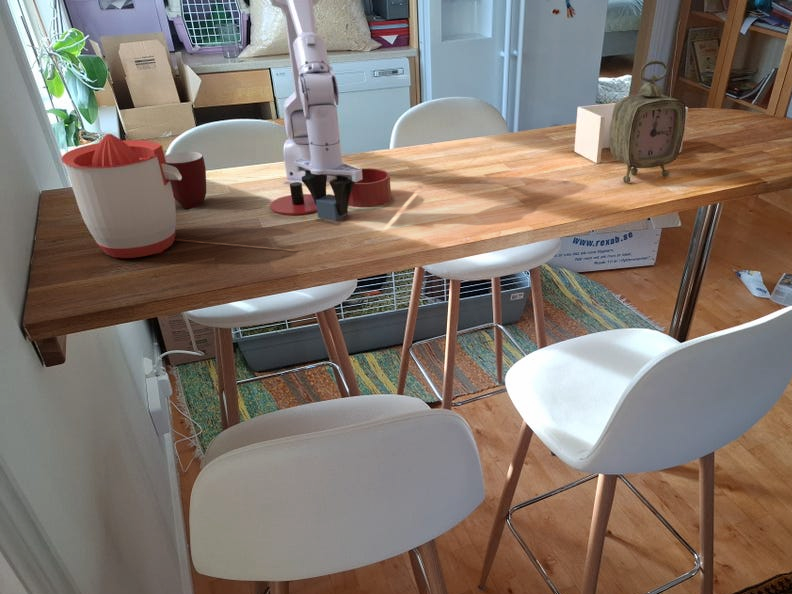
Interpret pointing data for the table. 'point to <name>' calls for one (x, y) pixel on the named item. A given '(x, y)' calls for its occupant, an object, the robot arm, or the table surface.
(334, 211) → the block
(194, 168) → the mug
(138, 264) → the table surface
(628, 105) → the tabletop clock
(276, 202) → the tin lid
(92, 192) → the citrus juicer
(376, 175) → the tin
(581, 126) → the storage container
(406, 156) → the table surface
